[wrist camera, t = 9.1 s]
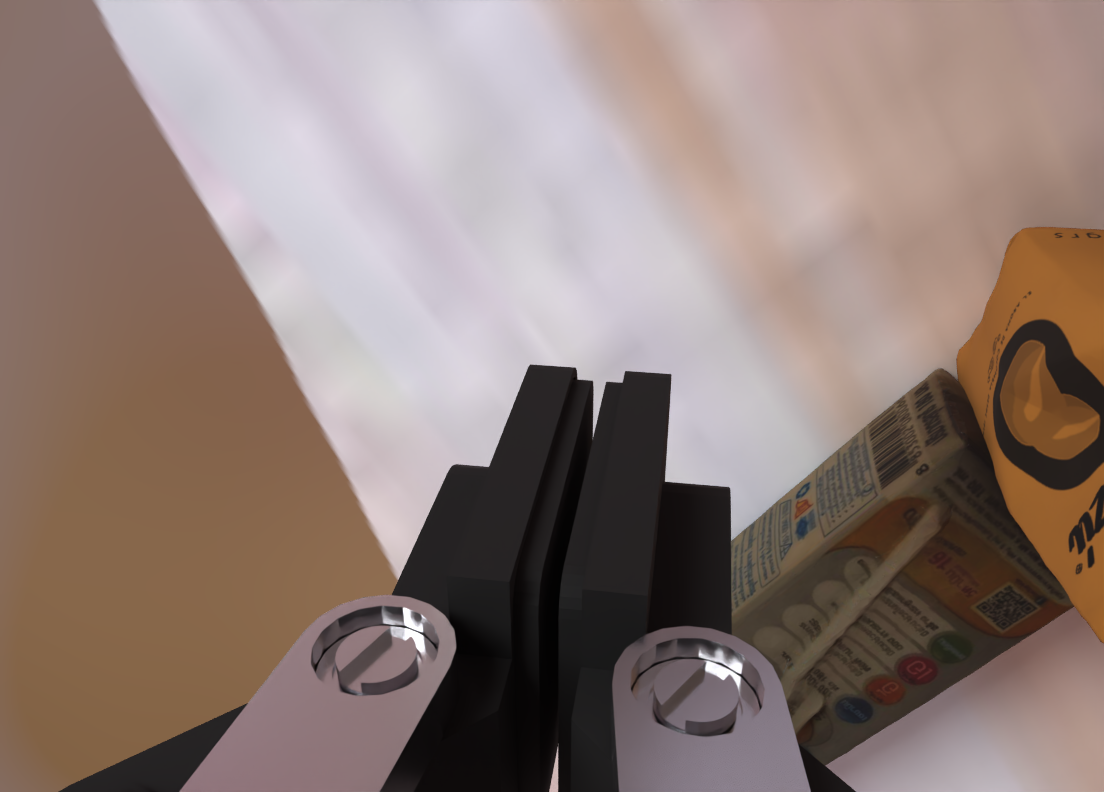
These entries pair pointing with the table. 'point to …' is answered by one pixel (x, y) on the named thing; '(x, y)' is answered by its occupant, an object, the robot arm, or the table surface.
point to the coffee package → (1048, 401)
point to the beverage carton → (889, 572)
